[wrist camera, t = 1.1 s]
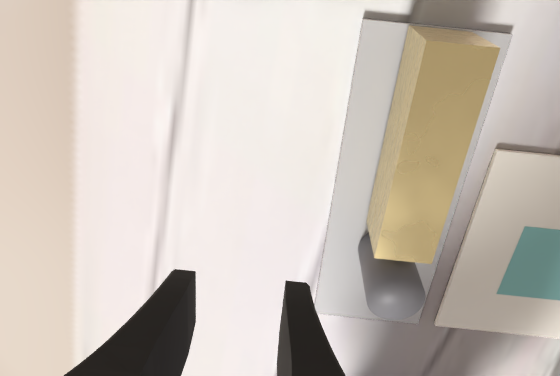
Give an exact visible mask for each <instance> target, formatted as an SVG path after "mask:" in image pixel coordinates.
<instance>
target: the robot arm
mask: <svg viewBox="0 0 560 376" xmlns="http://www.w3.org/2000/svg"><path fill="white" fill-rule="evenodd" d="M195 322H196V282H195V271H186V270H177V269H175V270H173V271H172V272H171V273H170V274H169V276H168V277H167V278H166V279H165V281H164V282H163V283H162V284H161V285H160V287H159V288H158V289H157V290H156V291H155V292H154V294H153V295H152V296H151V297H150V298H149V299H148V300H147V301H146V303H145V304H144V305H143V306H142V307H141V308H140V309H139V310H138V311H137V312H136V313H135V314H134V315H133V316H132V317H131V318H130V319H129V320H128V321H127V322H126V323H125V324H124V325H123V326H122V327H121V328H120V329H119V330H118V331H117V332H116V333H115V334H114V335H113V336H112V337H111V338H110V339H108V340H107V341H106V342H105V343H104V344H103V345H102V346H101V347H99V348H98V349H97V350H96V351H95V352H94V353H92V354H91V355H90V356H89V357H87V358H86V359H85V360H84V361H82V362H81V363H80V364H79V365H77V366H76V367H75V368H73V369H72V370H71V371H69V372H68V373H67V374H65V375H64V376H181V374H182V371H183V368H184V365H185V362H186V359H187V356H188V353H189V349H190V345H191V340H192V336H193V331H194V327H195ZM277 376H345V374H344V372H343V370H342V368H341V366H340V365H339V363H338V361H337V359H336V357H335V355H334V353H333V351H332V348H331V346H330V344H329V342H328V340H327V337H326V335H325V333H324V330H323V328H322V326H321V323H320V320H319V318H318V315H317V312H316V309H315V306H314V303H313V300H312V296H311V292H310V286H309V285H308V284H307V283H303V282H293V281H286V283H285V291H284V299H283V307H282V315H281V324H280V332H279V345H278V357H277Z"/></svg>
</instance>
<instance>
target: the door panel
mask: <svg viewBox="0 0 560 376" xmlns="http://www.w3.org/2000/svg"><path fill="white" fill-rule="evenodd" d="M409 25H410V26H420V27H430V28H440V29H449V30H459V31H469V32H473V33H475V34H477V35H479V36H480V37H482V38H484V39H486V40H487V41H489V42H491V43H493V44H495V45H496V46H498V47H500V51H499V55H498V58H497V61H496V64H495V67H494V70H493V73H492V77H491V80H490V83H489V86H488V89H487V92H486V95H485V99H484V102H483V105H482V108H481V111H480V114H479V117H478V120H477V124H476V127H475V130H474V133H473V136H472V139H471V142H470V146H469V149H468V152H467V155H466V158H465V161H464V164H463V167H462V171H461V174H460V177H459V180H458V183H457V186H456V189H455V193H454V196H453V199H452V202H451V205H450V208H449V211H448V215H447V218H446V221H445V224H444V227H443V230H442V233H441V236H440V240H439V243H438V246H437V249H436V252H435V255H434V258H433V262H432V264H425V263H416V262H406V261H396V260H387V259H377V258H374V254H373V250H372V245H371V240H370V235H369V231H368V226H367V221H366V220H367V215H368V211H369V206H370V201H371V197H372V192H373V188H374V183H375V178H376V174H377V169H378V165H379V160H380V155H381V151H382V146H383V142H384V137H385V132H386V128H387V123H388V118H389V114H390V109H391V105H392V100H393V95H394V91H395V86H396V82H397V77H398V72H399V68H400V63H401V59H402V54H403V49H404V45H405V40H406V36H407V31H408V26H409ZM511 38H512V34H510V33H500V32H490V31H480V30H471V29H461V28H451V27H441V26H432V25H422V24H412V23H402V22H393V21H383V20H373V19H363V20H362V26H361V32H360V38H359V44H358V50H357V56H356V62H355V68H354V74H353V80H352V86H351V91H350V97H349V103H348V109H347V115H346V121H345V127H344V133H343V139H342V145H341V151H340V157H339V162H338V168H337V174H336V180H335V186H334V192H333V198H332V204H331V210H330V216H329V222H328V228H327V233H326V239H325V245H324V251H323V257H322V263H321V269H320V275H319V281H318V287H317V293H316V299H315V304H314V306H315V309H316V312H317V314H324V315H334V316H343V317H353V318H363V319H372V320H382V321H392V322H401V323H411V324H418V323H419V320H420V316H421V313H422V310H423V307H424V304H425V301H426V298H427V295H428V292H429V289H430V286H431V283H432V280H433V277H434V274H435V271H436V268H437V265H438V261H439V258H440V255H441V252H442V249H443V246H444V243H445V240H446V237H447V234H448V231H449V228H450V225H451V222H452V219H453V216H454V213H455V209H456V206H457V203H458V200H459V197H460V194H461V191H462V188H463V185H464V182H465V179H466V176H467V173H468V170H469V167H470V164H471V161H472V158H473V154H474V151H475V148H476V145H477V142H478V139H479V136H480V133H481V130H482V127H483V124H484V121H485V118H486V115H487V112H488V109H489V106H490V102H491V99H492V96H493V93H494V90H495V87H496V84H497V81H498V78H499V75H500V72H501V69H502V66H503V63H504V60H505V57H506V54H507V50H508V47H509V44H510V41H511ZM434 323H435V326H440V327H450V328H460V329H469V330H479V331H489V332H498V333H508V334H518V335H527V336H537V337H547V338H556V339H560V155H552V154H542V153H532V152H523V151H513V150H503V149H495V151H494V154H493V157H492V160H491V162H490V165H489V168H488V171H487V174H486V177H485V180H484V182H483V185H482V188H481V191H480V194H479V197H478V199H477V202H476V205H475V208H474V211H473V214H472V217H471V219H470V222H469V225H468V228H467V231H466V234H465V237H464V239H463V242H462V245H461V248H460V251H459V254H458V257H457V259H456V262H455V265H454V268H453V271H452V274H451V277H450V279H449V282H448V285H447V288H446V291H445V294H444V297H443V299H442V302H441V305H440V308H439V311H438V314H437V316H436V319H435V322H434Z"/></svg>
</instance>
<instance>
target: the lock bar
mask: <svg viewBox="0 0 560 376" xmlns="http://www.w3.org/2000/svg"><path fill="white" fill-rule="evenodd" d="M499 51H500V47H498V46H496V45H495V44H493V43H491V42H489V41H487V40H486V39H484V38H482V37H480V36H479V35H477V34H475V33H473V32H469V31H459V30H449V29H440V28H430V27H420V26H410V25H409V26H408V31H407V36H406V40H405V45H404V49H403V54H402V59H401V63H400V68H399V72H398V77H397V82H396V86H395V91H394V95H393V100H392V105H391V109H390V114H389V118H388V123H387V128H386V132H385V137H384V142H383V146H382V151H381V155H380V160H379V165H378V169H377V174H376V178H375V183H374V188H373V192H372V197H371V201H370V206H369V211H368V215H367V220H366V221H367V226H368V231H369V235H370V240H371V245H372V250H373V254H374V258H377V259H387V260H396V261H406V262H416V263H425V264H432V262H433V258H434V255H435V252H436V249H437V246H438V243H439V240H440V236H441V233H442V230H443V227H444V224H445V221H446V218H447V215H448V211H449V208H450V205H451V202H452V199H453V196H454V193H455V189H456V186H457V183H458V180H459V177H460V174H461V171H462V167H463V164H464V161H465V158H466V155H467V152H468V149H469V146H470V142H471V139H472V136H473V133H474V130H475V127H476V124H477V120H478V117H479V114H480V111H481V108H482V105H483V102H484V99H485V95H486V92H487V89H488V86H489V83H490V80H491V77H492V73H493V70H494V67H495V64H496V61H497V58H498V55H499Z"/></svg>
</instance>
